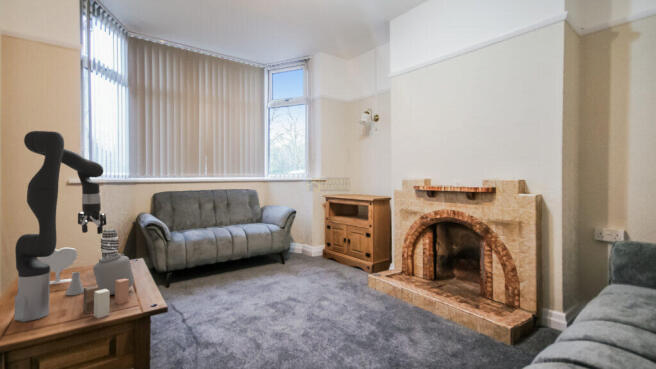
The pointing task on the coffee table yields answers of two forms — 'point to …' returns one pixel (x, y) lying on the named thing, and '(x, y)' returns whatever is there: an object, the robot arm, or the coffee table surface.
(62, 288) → the coffee table surface
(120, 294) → the terracotta pillar
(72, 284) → the flask
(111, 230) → the decorative candle
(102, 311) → the cream pillar
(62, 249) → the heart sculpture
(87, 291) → the walnut pillar
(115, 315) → the coffee table surface
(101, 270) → the jar
